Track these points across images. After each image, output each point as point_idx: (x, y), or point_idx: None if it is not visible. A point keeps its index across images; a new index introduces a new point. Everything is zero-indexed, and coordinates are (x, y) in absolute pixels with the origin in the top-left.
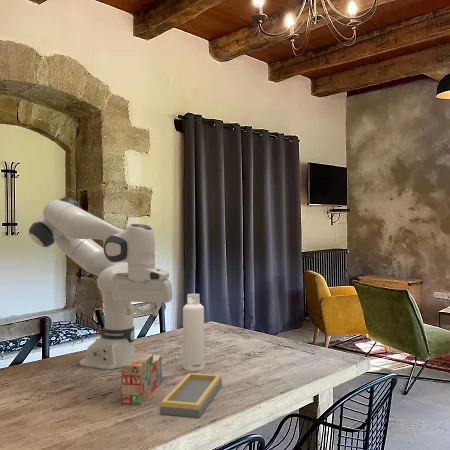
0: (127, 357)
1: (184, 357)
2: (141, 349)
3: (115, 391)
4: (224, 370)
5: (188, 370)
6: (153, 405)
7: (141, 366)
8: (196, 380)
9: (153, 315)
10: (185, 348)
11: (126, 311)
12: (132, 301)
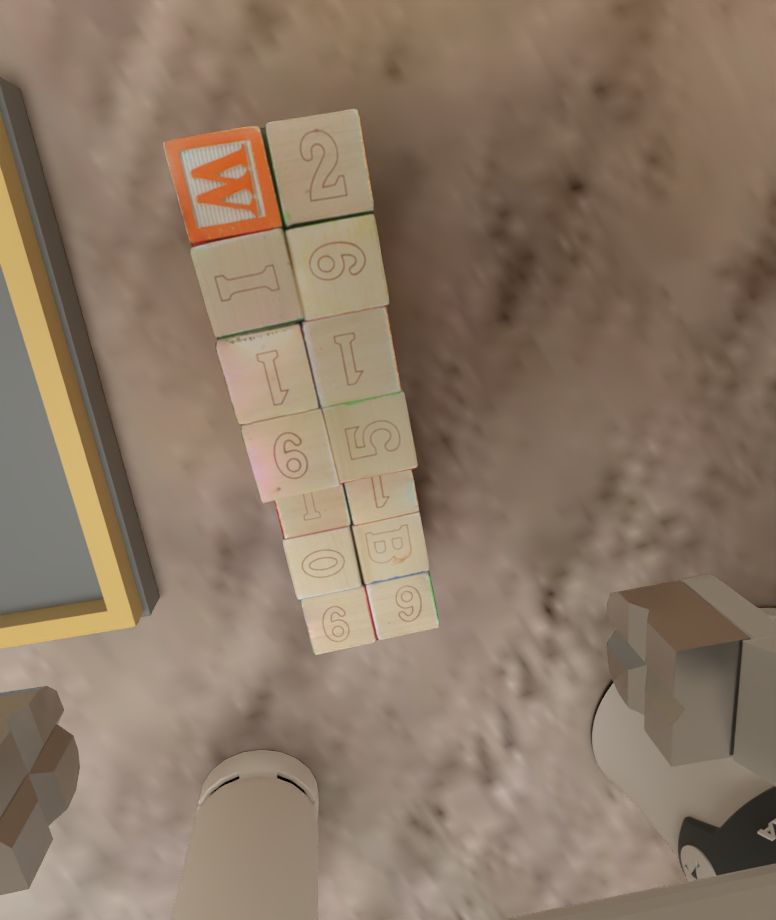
0: (641, 724)
1: (290, 814)
2: None
3: (484, 335)
4: (77, 819)
5: (263, 750)
6: (144, 209)
7: (172, 171)
8: (66, 581)
9: (19, 693)
10: (275, 867)
11: (736, 613)
12: (745, 874)
